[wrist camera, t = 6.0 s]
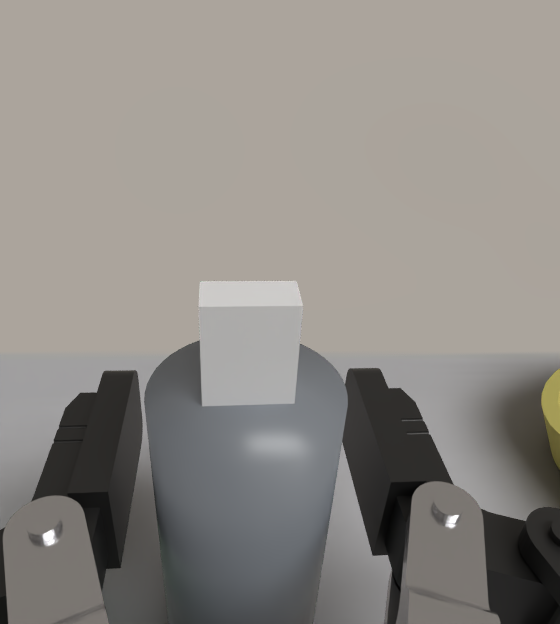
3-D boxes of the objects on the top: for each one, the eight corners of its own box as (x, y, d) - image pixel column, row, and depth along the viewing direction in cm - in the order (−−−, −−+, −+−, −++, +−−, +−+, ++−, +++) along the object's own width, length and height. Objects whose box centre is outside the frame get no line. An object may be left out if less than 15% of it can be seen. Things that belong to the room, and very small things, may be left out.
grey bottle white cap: (167, 734, 13) (116, 365, 7) (176, 587, 16) (146, 244, 10) (317, 719, 13) (390, 359, 7) (298, 578, 16) (338, 245, 10)
